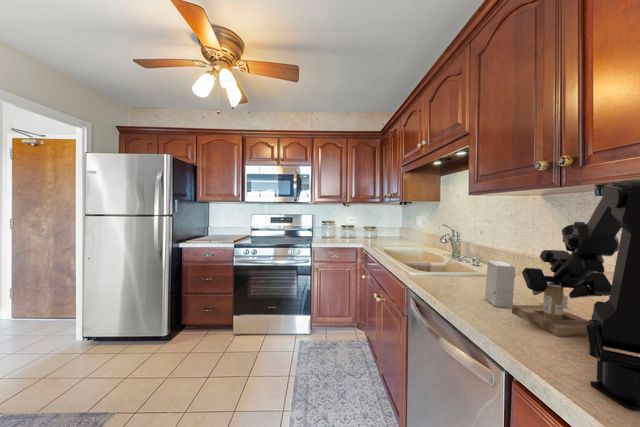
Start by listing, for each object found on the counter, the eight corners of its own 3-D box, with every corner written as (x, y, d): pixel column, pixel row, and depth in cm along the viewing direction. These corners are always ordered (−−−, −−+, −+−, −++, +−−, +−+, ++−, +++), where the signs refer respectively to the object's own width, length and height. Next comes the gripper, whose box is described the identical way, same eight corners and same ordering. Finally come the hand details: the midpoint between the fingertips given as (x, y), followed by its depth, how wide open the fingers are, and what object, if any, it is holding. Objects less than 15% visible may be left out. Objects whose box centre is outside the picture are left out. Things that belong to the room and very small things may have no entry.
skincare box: (484, 299, 97) (485, 259, 97) (502, 300, 96) (503, 260, 96) (494, 307, 89) (496, 264, 89) (514, 308, 88) (515, 265, 88)
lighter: (565, 307, 90) (565, 284, 90) (567, 308, 89) (568, 285, 89) (539, 303, 93) (540, 281, 93) (541, 305, 92) (542, 282, 92)
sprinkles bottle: (565, 328, 74) (566, 281, 73) (544, 324, 76) (545, 279, 76) (560, 322, 78) (562, 278, 77) (540, 319, 80) (542, 275, 80)
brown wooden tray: (605, 336, 69) (605, 327, 69) (557, 336, 69) (557, 327, 69) (550, 312, 85) (550, 305, 85) (511, 312, 85) (511, 305, 85)
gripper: (606, 243, 70) (576, 274, 81) (525, 240, 75) (508, 269, 86) (631, 280, 63) (595, 308, 74) (540, 274, 68) (518, 301, 78)
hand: (551, 295), depth 78 cm, fingers open, 9 cm apart
